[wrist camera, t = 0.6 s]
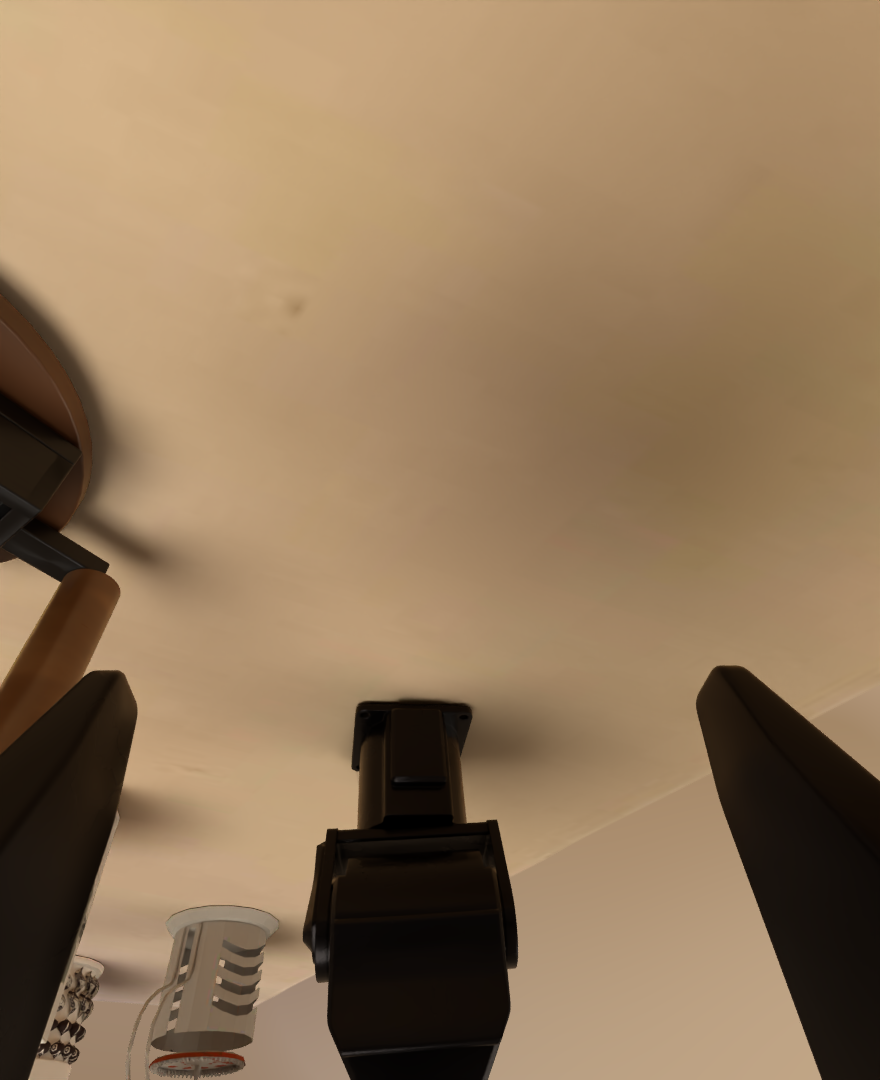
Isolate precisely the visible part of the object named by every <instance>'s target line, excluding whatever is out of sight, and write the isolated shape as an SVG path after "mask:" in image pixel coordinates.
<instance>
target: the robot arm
mask: <svg viewBox="0 0 880 1080" xmlns="http://www.w3.org/2000/svg"><path fill="white" fill-rule="evenodd" d="M696 709H697V714H698V718H699V721H700V725H701V729H702V733H703V737H704V741H705V745H706V749H707V753H708V757H709V761H710V765H711V769H712V773H713V776H714V781H715V784H716V788H717V792H718V795H719V799H720V802H721V805H722V808H723V811H724V814H725V817H726V820H727V822H728V825H729V828H730V830H731V833H732V836H733V838H734V841H735V844H736V847H737V849H738V852H739V855H740V858H741V860H742V863H743V866H744V869H745V871H746V874H747V877H748V879H749V882H750V885H751V888H752V890H753V893H754V896H755V898H756V901H757V903H758V907H759V909H760V912H761V915H762V918H763V920H764V923H765V926H766V928H767V931H768V934H769V937H770V939H771V942H772V945H773V948H774V950H775V953H776V955H777V958H778V961H779V964H780V967H781V969H782V972H783V975H784V977H785V980H786V983H787V986H788V988H789V991H790V994H791V996H792V999H793V1002H794V1005H795V1007H796V1010H797V1013H798V1015H799V1018H800V1021H801V1024H802V1026H803V1029H804V1032H805V1035H806V1037H807V1040H808V1043H809V1046H810V1048H811V1051H812V1053H813V1056H814V1059H815V1062H816V1065H817V1067H818V1070H819V1073H820V1075H821V1078H822V1080H880V781H879V780H878V779H877V778H875V777H874V776H873V775H872V774H871V773H869V772H868V771H867V770H866V769H865V768H864V767H862V766H861V765H860V764H859V763H858V762H857V761H855V760H854V759H853V758H852V757H851V756H849V755H848V754H847V753H846V752H845V751H843V750H842V749H841V748H840V747H839V746H838V745H836V744H835V743H834V742H833V741H832V740H830V739H829V738H828V737H827V736H826V735H824V734H823V733H822V732H821V731H820V730H818V729H817V728H816V727H815V726H814V725H813V724H811V723H810V722H809V721H808V720H807V719H805V718H804V717H803V716H802V715H801V714H799V713H798V712H797V711H796V710H795V709H794V708H792V707H791V706H790V705H789V704H788V703H786V702H785V701H784V700H783V699H782V698H780V697H779V696H778V695H777V694H776V693H775V692H773V691H772V690H771V689H770V688H769V687H767V686H766V685H765V684H764V683H763V682H761V681H760V680H759V679H758V678H757V677H755V676H754V675H753V674H752V673H751V672H750V671H748V670H747V669H745V668H744V667H741V666H737V665H732V666H717V667H715V668H714V669H713V670H712V671H711V673H710V674H709V676H708V678H707V680H706V681H705V683H704V685H703V687H702V688H701V690H700V692H699V694H698V696H697V700H696ZM136 720H137V704H136V701H135V698H134V696H133V693H132V691H131V689H130V686H129V684H128V681H127V679H126V677H125V675H124V674H123V673H122V672H121V671H118V670H99V671H92V672H90V673H88V674H87V675H85V676H84V677H83V678H82V679H81V680H80V681H79V682H78V683H77V684H76V685H74V686H73V687H72V688H71V689H70V690H69V691H68V692H67V693H66V694H65V695H64V696H63V697H62V698H60V699H59V700H58V701H57V702H56V703H55V704H54V705H53V706H52V707H51V708H50V709H49V710H48V711H46V712H45V713H44V714H43V715H42V716H41V717H40V718H39V719H38V720H37V721H36V722H35V723H34V724H32V725H31V726H30V727H29V728H28V729H27V730H26V731H25V732H24V733H23V734H22V735H21V736H19V737H18V738H17V739H16V740H15V741H14V742H13V743H12V744H11V745H10V746H9V747H8V748H7V749H5V750H4V751H3V752H2V753H1V754H0V1080H28V1079H29V1076H30V1073H31V1070H32V1067H33V1064H34V1061H35V1058H36V1055H37V1052H38V1049H39V1046H40V1043H41V1040H42V1037H43V1034H44V1031H45V1028H46V1025H47V1022H48V1019H49V1016H50V1014H51V1011H52V1008H53V1005H54V1002H55V999H56V996H57V993H58V990H59V987H60V984H61V981H62V978H63V975H64V972H65V969H66V966H67V963H68V960H69V957H70V954H71V951H72V948H73V945H74V942H75V939H76V936H77V933H78V930H79V927H80V924H81V921H82V918H83V915H84V912H85V909H86V906H87V903H88V900H89V897H90V894H91V891H92V888H93V885H94V882H95V879H96V876H97V873H98V870H99V867H100V864H101V861H102V858H103V855H104V852H105V849H106V846H107V843H108V840H109V837H110V834H111V831H112V828H113V824H114V821H115V817H116V813H117V809H118V804H119V800H120V795H121V790H122V786H123V781H124V776H125V772H126V767H127V762H128V758H129V753H130V748H131V744H132V739H133V734H134V730H135V725H136ZM471 720H472V710H471V708H470V707H467V706H435V705H386V704H362V705H359V706H358V707H357V708H356V714H355V727H354V740H353V752H352V769H353V770H355V771H359V798H358V825H357V829H353V830H338V828H336V829H327V834H326V841H325V842H323V843H321V844H320V845H318V846H317V850H316V862H315V873H314V881H313V887H312V891H311V896H310V900H309V905H308V910H307V914H306V919H305V923H304V928H303V942H304V943H305V944H306V946H307V947H308V948H309V949H310V950H311V952H312V957H313V963H314V964H315V973H316V980H317V982H318V983H321V982H329V983H328V984H329V985H328V1010H327V1012H328V1013H327V1019H328V1020H327V1021H328V1027H329V1030H330V1033H331V1035H332V1037H333V1040H334V1042H335V1044H336V1047H337V1049H338V1051H339V1054H340V1056H341V1058H342V1061H343V1063H344V1065H345V1068H346V1070H347V1072H348V1075H349V1077H350V1079H351V1080H488V1078H489V1074H490V1071H491V1069H492V1066H493V1063H494V1060H495V1057H496V1054H497V1051H498V1048H499V1045H500V1042H501V1039H502V1036H503V1033H504V1030H505V1027H506V1024H507V1021H508V1018H509V1014H510V993H509V982H508V972H507V969H512V968H516V967H517V962H518V937H517V923H516V914H515V906H514V900H513V894H512V889H511V884H510V879H509V875H508V870H507V865H506V860H505V855H504V851H503V846H502V841H501V836H500V831H499V827H498V822H497V820H487V821H486V822H480V823H467V821H466V811H465V801H464V791H463V781H462V771H461V761H460V757H461V753H462V750H463V747H464V743H465V740H466V737H467V733H468V730H469V727H470V723H471Z"/></svg>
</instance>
